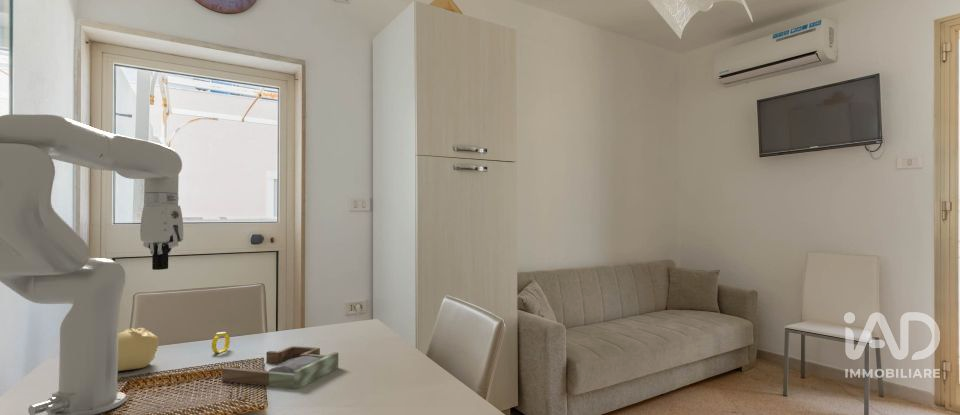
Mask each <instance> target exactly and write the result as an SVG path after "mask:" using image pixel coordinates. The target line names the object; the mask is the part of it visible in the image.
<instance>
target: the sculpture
mask: <svg viewBox="0 0 960 415" xmlns="http://www.w3.org/2000/svg"><path fill="white" fill-rule="evenodd" d="M159 342H160V340H159V337H158V336H157V335H155V334H154V333H153V332H151V331H149V330H147V329H146V328H145V327H138V328H133V327H131V328H125V329H124V331H120V332H118V372H120V371H121V372H122V371H130V370H138V369H143V368H146V367H148V366H149V364H150V363H151V362H152V361H154V359H155V358H156V352H157V351H158V347H159Z"/></svg>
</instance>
